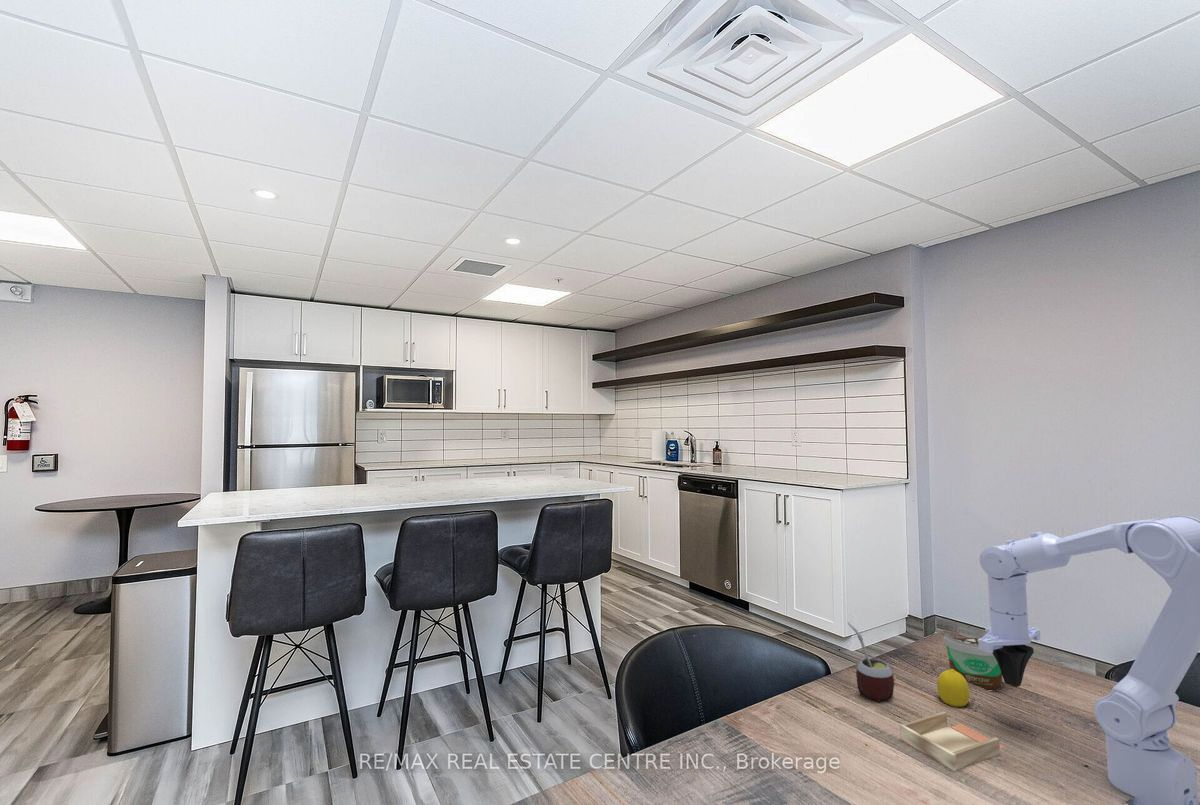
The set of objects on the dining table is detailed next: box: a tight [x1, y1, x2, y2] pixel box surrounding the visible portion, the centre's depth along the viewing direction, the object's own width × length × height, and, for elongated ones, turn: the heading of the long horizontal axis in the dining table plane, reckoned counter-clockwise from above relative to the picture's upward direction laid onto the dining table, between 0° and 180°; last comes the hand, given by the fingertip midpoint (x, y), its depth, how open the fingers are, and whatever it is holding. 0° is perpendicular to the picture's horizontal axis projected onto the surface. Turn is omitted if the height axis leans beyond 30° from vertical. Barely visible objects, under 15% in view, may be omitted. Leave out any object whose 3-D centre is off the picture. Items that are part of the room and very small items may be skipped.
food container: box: [942, 633, 1003, 691], centre depth 120 cm, size 12×6×10 cm, turn 73°
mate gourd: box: [847, 622, 895, 703], centre depth 116 cm, size 8×8×15 cm
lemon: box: [936, 668, 971, 708], centre depth 111 cm, size 6×6×8 cm
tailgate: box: [950, 723, 1006, 749], centre depth 100 cm, size 1×8×6 cm
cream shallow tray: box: [899, 710, 1001, 772], centre depth 96 cm, size 10×11×4 cm
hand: (1012, 684), depth 102 cm, fingers closed
